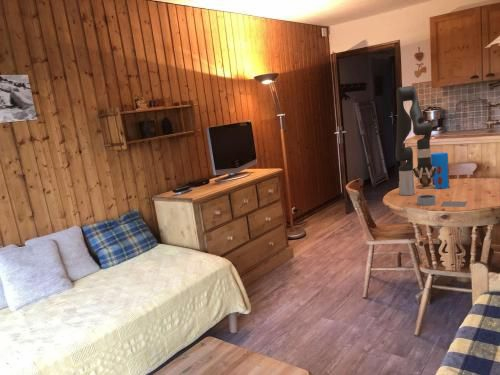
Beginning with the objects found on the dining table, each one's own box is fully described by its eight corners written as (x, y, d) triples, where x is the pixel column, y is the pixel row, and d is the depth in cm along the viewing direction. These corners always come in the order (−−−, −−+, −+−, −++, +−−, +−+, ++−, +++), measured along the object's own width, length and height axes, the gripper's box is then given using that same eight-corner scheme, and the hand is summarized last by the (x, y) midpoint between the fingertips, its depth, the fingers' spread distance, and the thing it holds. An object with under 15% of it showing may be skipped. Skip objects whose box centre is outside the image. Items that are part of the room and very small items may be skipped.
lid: (414, 189, 235) (413, 176, 234) (418, 185, 243) (417, 173, 242) (433, 189, 228) (433, 176, 227) (437, 185, 237) (436, 173, 236)
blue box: (448, 189, 271) (446, 153, 267) (431, 189, 277) (430, 155, 273) (449, 186, 280) (448, 152, 276) (433, 186, 286) (432, 153, 282)
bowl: (416, 206, 237) (415, 198, 236) (419, 202, 245) (419, 194, 244) (434, 206, 231) (433, 198, 230) (437, 202, 239) (436, 194, 238)
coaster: (439, 207, 228) (439, 206, 227) (443, 202, 238) (443, 201, 238) (464, 207, 220) (464, 206, 220) (467, 202, 230) (467, 201, 230)
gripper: (410, 157, 234) (411, 185, 237) (435, 156, 226) (437, 185, 228) (413, 156, 240) (414, 183, 243) (437, 154, 232) (439, 182, 234)
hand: (425, 183), depth 236 cm, fingers closed on lid, 3 cm apart
